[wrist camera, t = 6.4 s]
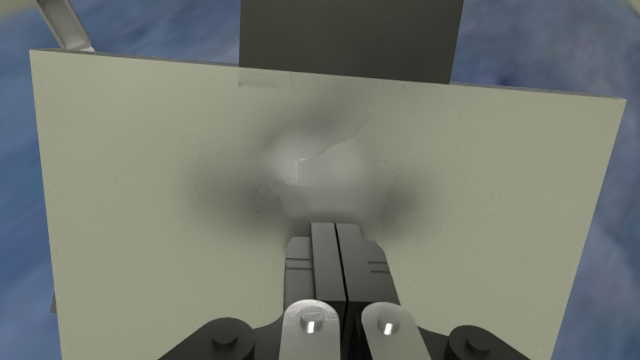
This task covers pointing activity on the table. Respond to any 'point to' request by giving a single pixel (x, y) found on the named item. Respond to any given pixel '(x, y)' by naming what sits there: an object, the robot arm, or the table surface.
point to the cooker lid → (311, 177)
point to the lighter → (64, 24)
